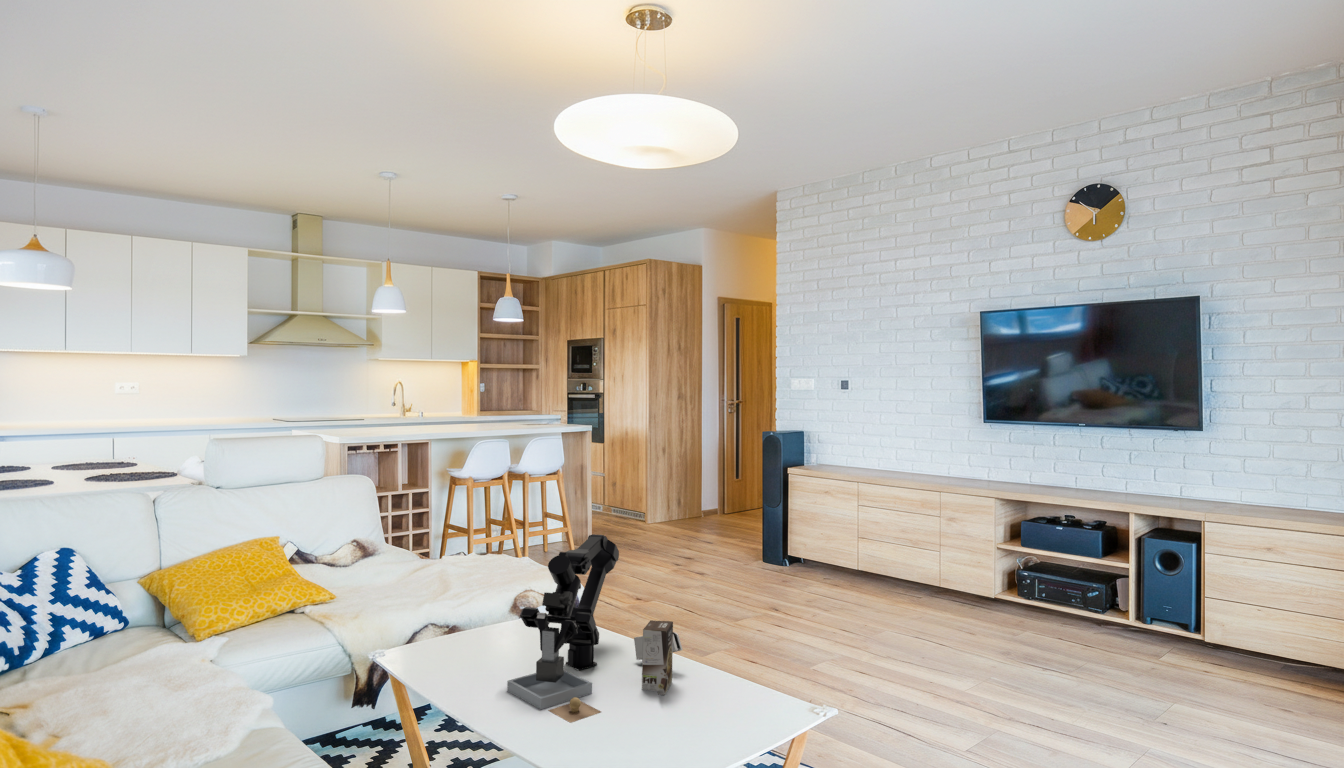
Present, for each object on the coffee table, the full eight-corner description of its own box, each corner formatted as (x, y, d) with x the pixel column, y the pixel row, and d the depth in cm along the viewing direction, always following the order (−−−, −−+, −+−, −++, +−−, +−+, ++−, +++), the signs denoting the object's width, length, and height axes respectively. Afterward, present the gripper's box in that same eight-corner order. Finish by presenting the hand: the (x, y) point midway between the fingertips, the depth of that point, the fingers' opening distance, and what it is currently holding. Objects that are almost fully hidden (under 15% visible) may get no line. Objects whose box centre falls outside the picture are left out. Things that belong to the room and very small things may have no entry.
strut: (544, 672, 195) (545, 625, 195) (563, 675, 194) (564, 627, 194) (536, 680, 190) (536, 631, 190) (555, 682, 189) (556, 633, 189)
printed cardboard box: (636, 674, 213) (676, 665, 204) (632, 637, 217) (671, 626, 208) (646, 673, 216) (686, 664, 207) (642, 636, 220) (681, 626, 211)
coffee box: (665, 695, 193) (666, 631, 193) (640, 693, 194) (641, 629, 195) (673, 682, 202) (674, 620, 202) (649, 680, 203) (650, 619, 204)
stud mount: (579, 704, 187) (579, 687, 187) (601, 716, 180) (602, 698, 180) (547, 714, 181) (548, 697, 181) (570, 727, 174) (570, 708, 174)
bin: (557, 680, 202) (557, 666, 202) (591, 697, 191) (592, 683, 191) (507, 694, 192) (507, 680, 192) (540, 713, 181) (541, 698, 181)
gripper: (523, 575, 198) (503, 631, 187) (592, 581, 194) (575, 638, 183) (535, 598, 206) (517, 653, 195) (602, 604, 201) (586, 660, 190)
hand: (548, 651), depth 191 cm, fingers closed on strut, 3 cm apart
